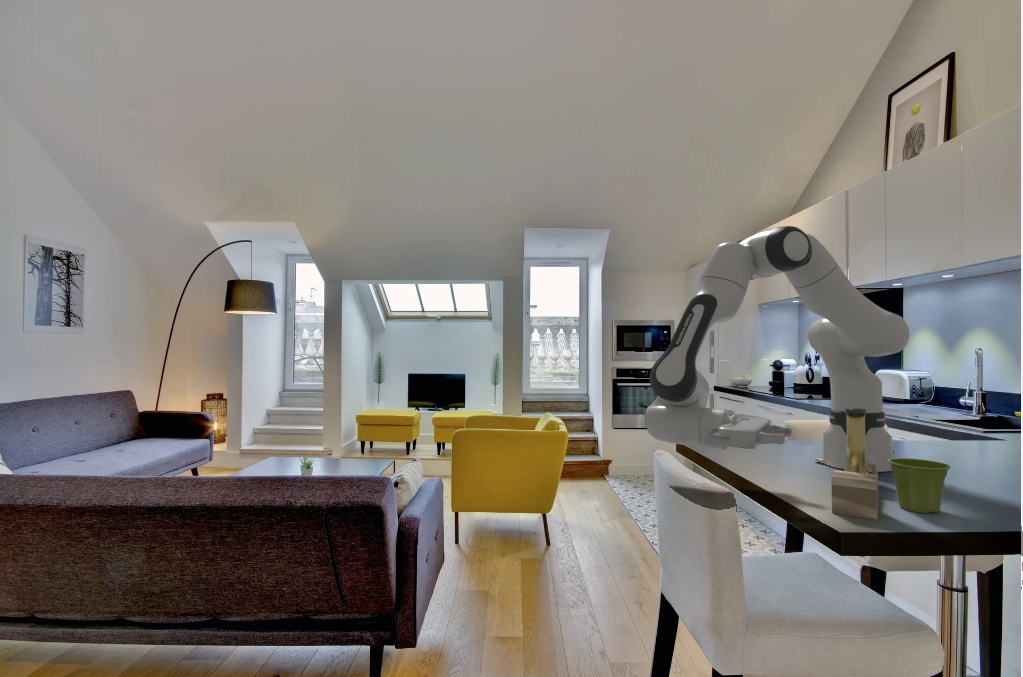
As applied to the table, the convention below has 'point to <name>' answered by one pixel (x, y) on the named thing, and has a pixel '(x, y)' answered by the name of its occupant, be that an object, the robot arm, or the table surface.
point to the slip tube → (856, 440)
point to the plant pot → (919, 483)
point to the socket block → (855, 494)
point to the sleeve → (868, 464)
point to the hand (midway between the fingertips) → (788, 435)
